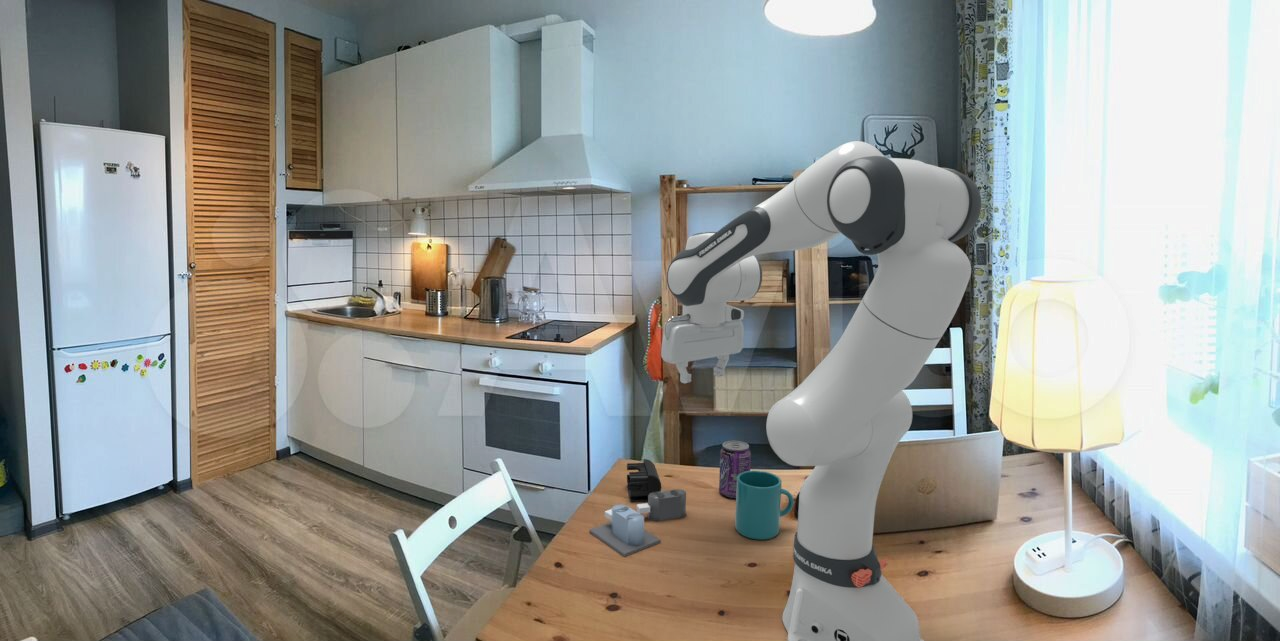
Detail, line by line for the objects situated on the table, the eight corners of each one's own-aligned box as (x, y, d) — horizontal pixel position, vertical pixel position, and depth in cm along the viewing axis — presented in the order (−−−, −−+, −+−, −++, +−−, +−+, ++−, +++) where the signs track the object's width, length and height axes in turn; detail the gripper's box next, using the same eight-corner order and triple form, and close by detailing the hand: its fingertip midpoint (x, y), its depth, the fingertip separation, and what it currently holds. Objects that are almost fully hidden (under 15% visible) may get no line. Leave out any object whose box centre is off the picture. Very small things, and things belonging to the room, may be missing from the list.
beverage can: (719, 486, 149) (720, 439, 147) (748, 488, 148) (750, 440, 146) (718, 499, 142) (720, 449, 140) (749, 501, 141) (751, 451, 139)
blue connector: (647, 542, 121) (647, 518, 120) (633, 547, 119) (633, 523, 118) (615, 521, 130) (615, 499, 129) (601, 526, 127) (601, 503, 127)
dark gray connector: (682, 509, 137) (682, 488, 136) (688, 516, 133) (688, 494, 133) (635, 516, 133) (635, 494, 133) (640, 523, 130) (640, 501, 129)
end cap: (661, 502, 140) (661, 474, 139) (630, 503, 140) (630, 475, 139) (655, 484, 150) (655, 458, 149) (626, 485, 149) (626, 459, 148)
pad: (660, 542, 122) (660, 539, 122) (624, 556, 117) (624, 553, 117) (624, 519, 132) (624, 517, 132) (589, 532, 126) (589, 529, 126)
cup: (799, 539, 124) (802, 486, 122) (741, 542, 123) (743, 488, 121) (784, 518, 133) (786, 469, 131) (730, 521, 132) (731, 471, 130)
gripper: (676, 318, 116) (674, 390, 118) (749, 310, 128) (747, 375, 131) (654, 315, 121) (653, 383, 123) (727, 307, 133) (725, 369, 135)
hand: (702, 379), depth 127 cm, fingers open, 8 cm apart
